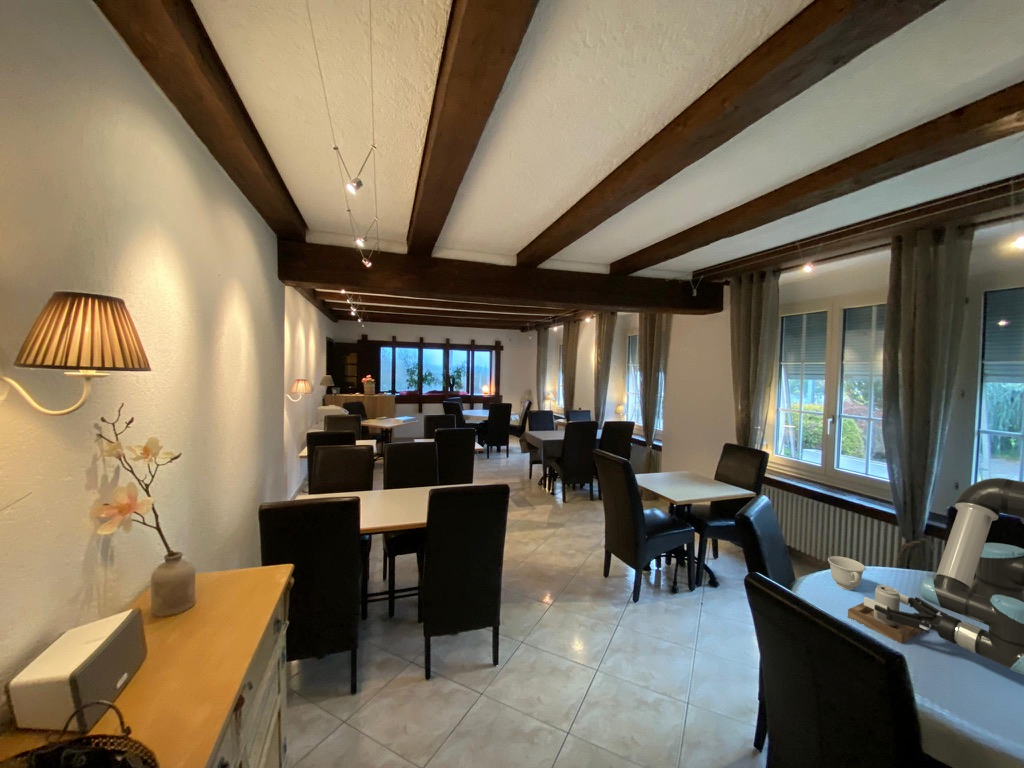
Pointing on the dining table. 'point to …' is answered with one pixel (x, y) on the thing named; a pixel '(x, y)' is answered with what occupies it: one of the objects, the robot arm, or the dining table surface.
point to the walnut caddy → (882, 624)
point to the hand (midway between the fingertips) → (874, 596)
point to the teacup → (846, 572)
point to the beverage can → (886, 602)
